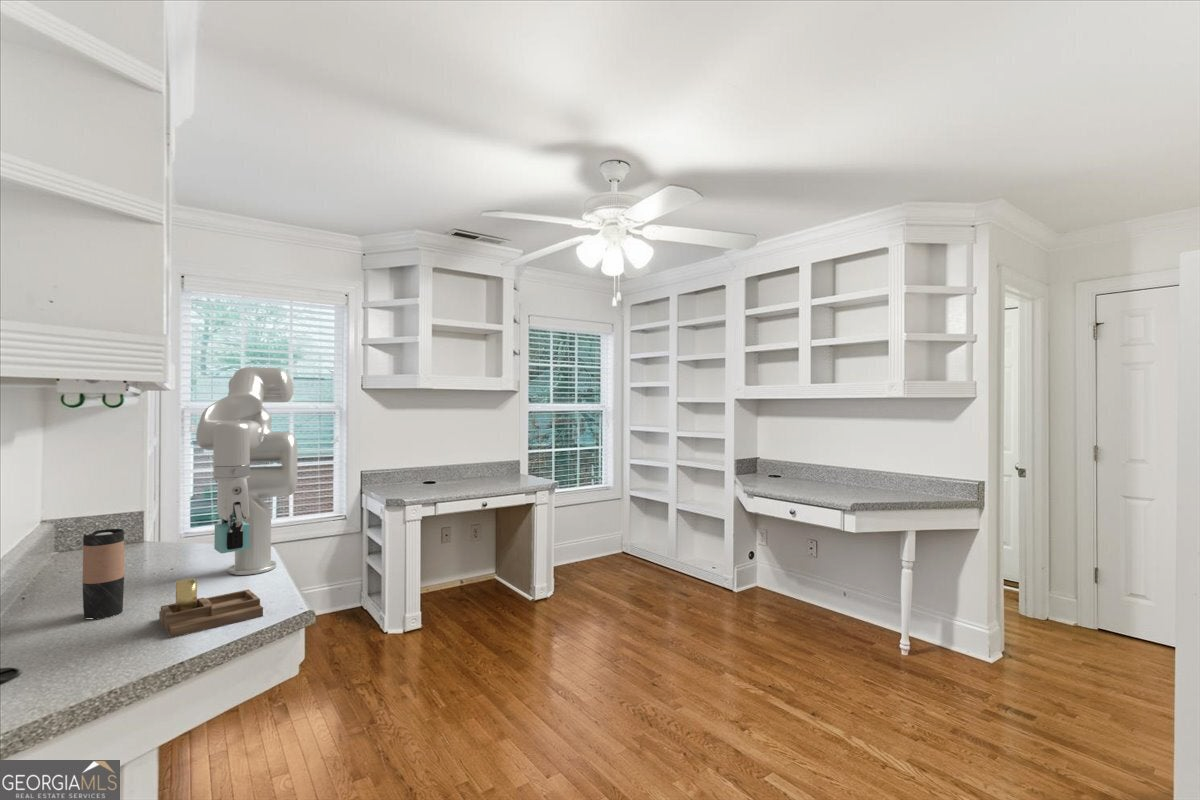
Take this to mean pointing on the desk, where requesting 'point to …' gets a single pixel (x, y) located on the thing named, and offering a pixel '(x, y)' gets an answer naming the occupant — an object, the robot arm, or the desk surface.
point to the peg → (186, 594)
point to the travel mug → (103, 573)
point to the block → (221, 537)
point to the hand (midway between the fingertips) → (231, 545)
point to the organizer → (211, 613)
